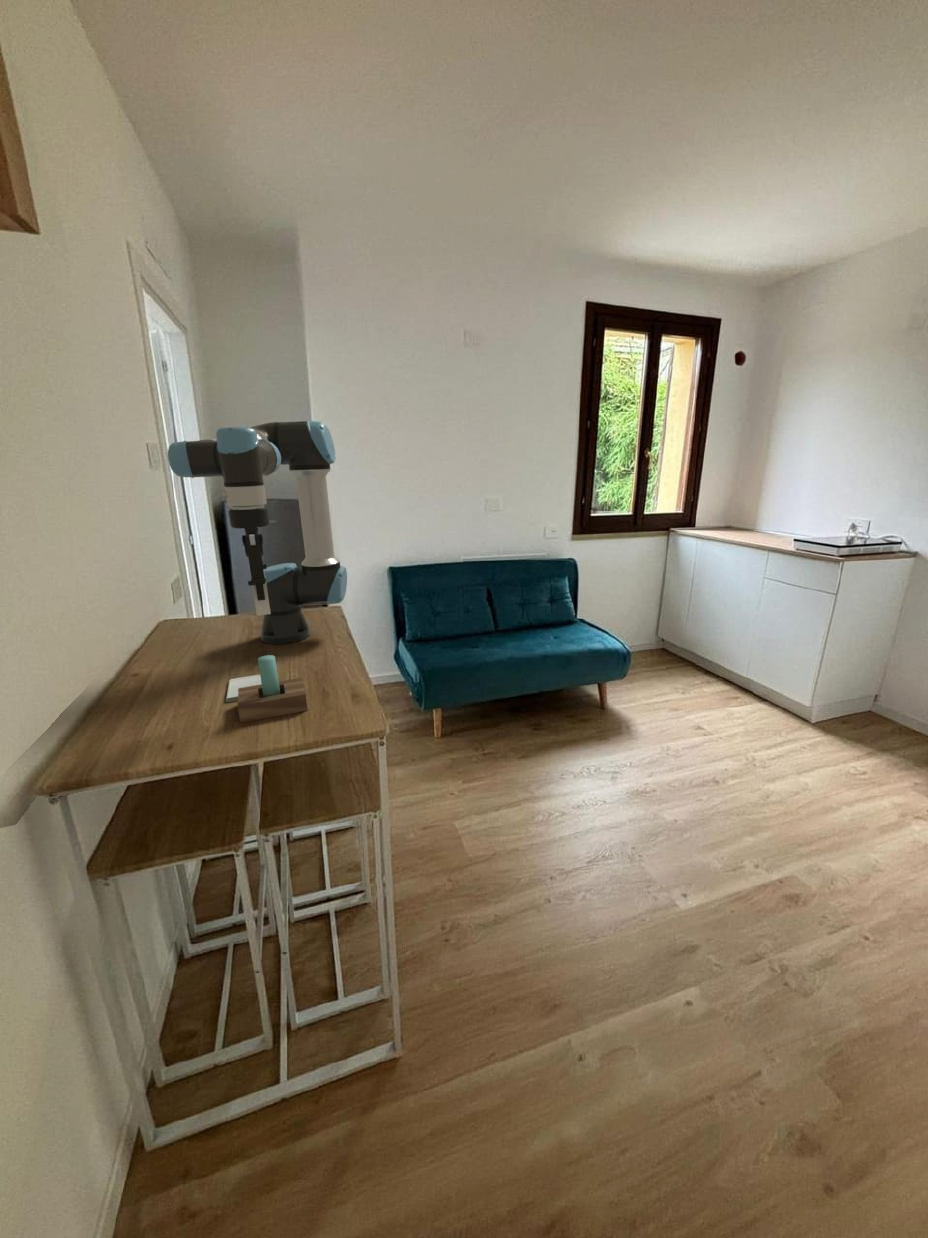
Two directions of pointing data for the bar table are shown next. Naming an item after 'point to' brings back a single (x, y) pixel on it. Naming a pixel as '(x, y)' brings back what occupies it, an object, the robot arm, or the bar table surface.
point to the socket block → (271, 701)
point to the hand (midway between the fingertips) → (262, 606)
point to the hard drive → (240, 686)
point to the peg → (269, 675)
